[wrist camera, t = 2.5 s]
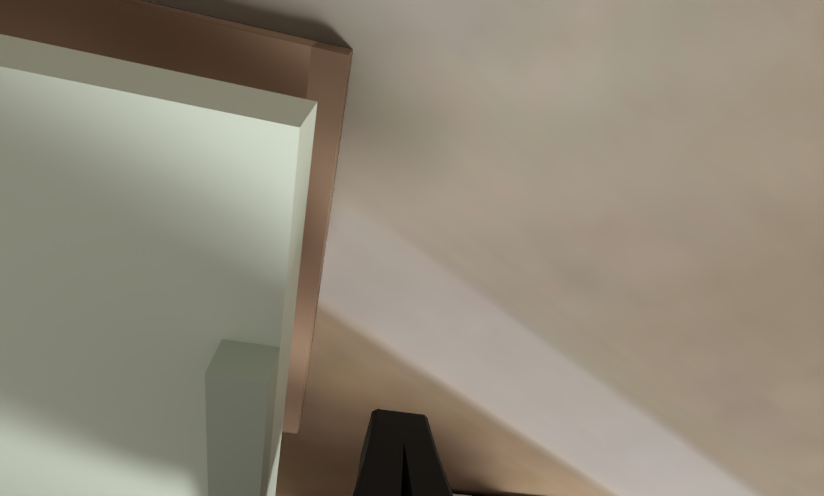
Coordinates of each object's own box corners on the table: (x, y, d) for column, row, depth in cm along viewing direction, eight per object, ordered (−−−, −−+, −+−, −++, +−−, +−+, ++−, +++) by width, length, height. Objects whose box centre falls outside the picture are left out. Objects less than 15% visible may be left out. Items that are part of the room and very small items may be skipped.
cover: (266, 571, 15) (247, 660, 13) (-61, 548, 14) (-137, 643, 12) (317, 101, 7) (286, 146, 5) (-446, -61, 6) (-879, -84, 4)
